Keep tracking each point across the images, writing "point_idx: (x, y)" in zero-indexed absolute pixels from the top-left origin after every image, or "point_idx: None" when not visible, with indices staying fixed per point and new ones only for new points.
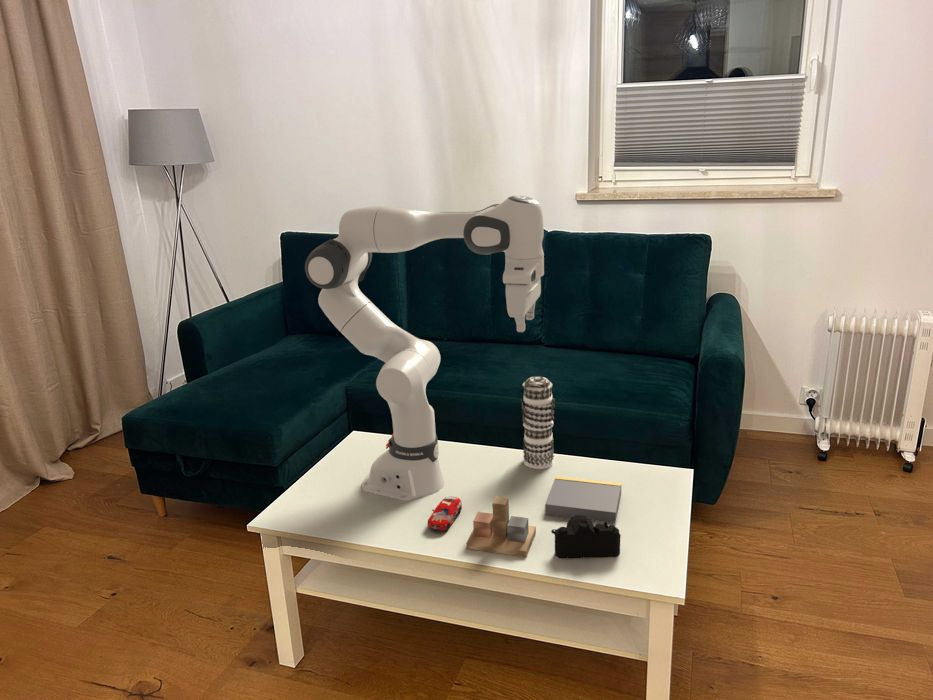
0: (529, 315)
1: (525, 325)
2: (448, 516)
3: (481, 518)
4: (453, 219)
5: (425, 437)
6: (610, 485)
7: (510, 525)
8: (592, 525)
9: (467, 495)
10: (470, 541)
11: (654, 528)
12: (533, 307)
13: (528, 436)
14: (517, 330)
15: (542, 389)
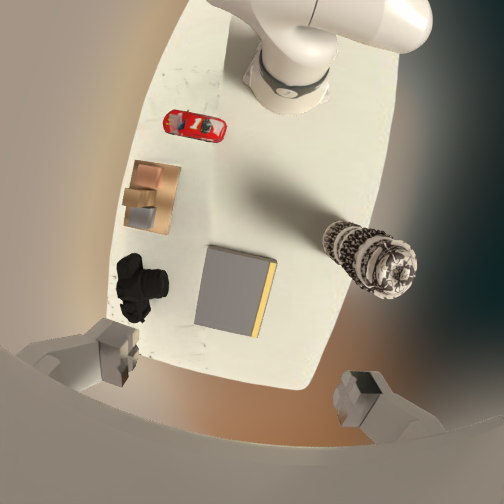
0: (349, 400)
1: (125, 377)
2: (175, 131)
3: (143, 173)
4: None
5: (270, 68)
6: (253, 326)
7: (131, 209)
8: (131, 300)
9: (254, 146)
10: (137, 163)
11: (191, 350)
12: (380, 442)
13: (345, 233)
14: (101, 321)
15: (369, 280)
